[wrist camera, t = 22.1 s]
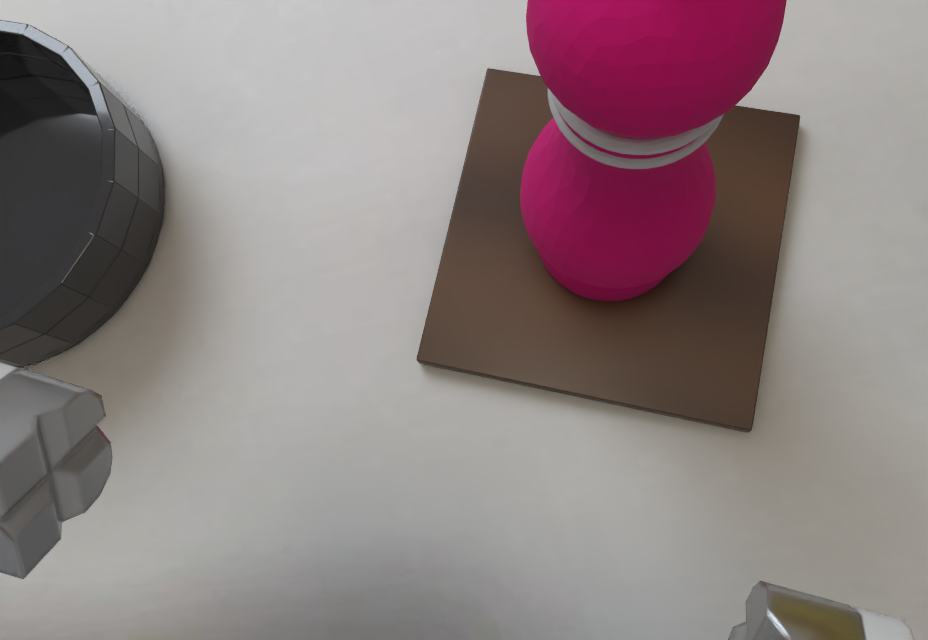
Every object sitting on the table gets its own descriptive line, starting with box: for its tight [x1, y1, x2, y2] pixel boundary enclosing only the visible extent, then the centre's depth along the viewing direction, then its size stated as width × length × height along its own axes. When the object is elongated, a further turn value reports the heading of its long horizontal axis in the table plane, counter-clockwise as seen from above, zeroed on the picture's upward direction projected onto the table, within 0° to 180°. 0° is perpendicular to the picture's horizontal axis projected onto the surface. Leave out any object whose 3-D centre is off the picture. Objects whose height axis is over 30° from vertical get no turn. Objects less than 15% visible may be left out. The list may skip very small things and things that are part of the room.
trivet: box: [417, 69, 800, 432], centre depth 35 cm, size 14×14×1 cm
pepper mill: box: [520, 0, 786, 301], centre depth 25 cm, size 7×7×20 cm
